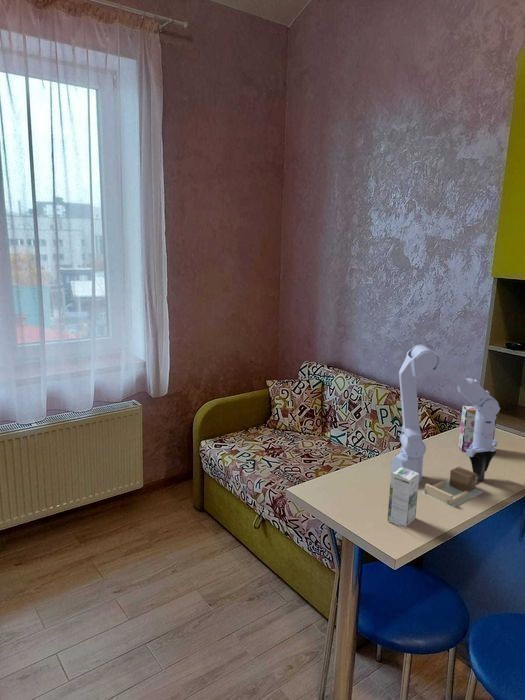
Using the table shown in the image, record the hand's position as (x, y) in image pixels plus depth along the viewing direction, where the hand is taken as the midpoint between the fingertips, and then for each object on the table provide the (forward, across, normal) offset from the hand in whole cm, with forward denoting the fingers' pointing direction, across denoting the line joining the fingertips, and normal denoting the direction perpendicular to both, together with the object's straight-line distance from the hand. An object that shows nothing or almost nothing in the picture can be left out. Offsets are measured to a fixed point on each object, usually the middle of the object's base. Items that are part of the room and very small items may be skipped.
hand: (479, 471), depth 157 cm
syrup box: (+4, -39, -1) cm, 39 cm away
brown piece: (+2, -5, 0) cm, 6 cm away
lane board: (+3, -14, 0) cm, 15 cm away
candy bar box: (+4, +22, +15) cm, 27 cm away
